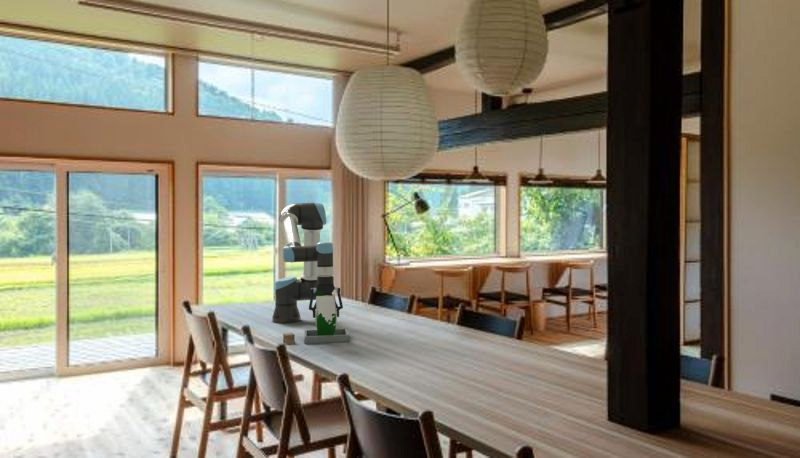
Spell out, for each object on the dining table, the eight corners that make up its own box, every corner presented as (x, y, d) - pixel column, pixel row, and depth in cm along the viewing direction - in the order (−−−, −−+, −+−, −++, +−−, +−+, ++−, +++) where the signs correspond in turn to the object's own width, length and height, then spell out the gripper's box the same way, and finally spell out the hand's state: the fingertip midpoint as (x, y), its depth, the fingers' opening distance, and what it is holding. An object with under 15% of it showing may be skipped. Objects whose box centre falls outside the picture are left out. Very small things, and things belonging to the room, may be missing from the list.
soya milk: (318, 331, 288) (317, 289, 287) (337, 331, 287) (336, 289, 287) (315, 335, 279) (314, 292, 278) (335, 335, 279) (334, 292, 278)
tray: (304, 336, 290) (304, 330, 290) (346, 334, 293) (346, 328, 293) (304, 343, 274) (304, 337, 274) (349, 341, 277) (349, 335, 277)
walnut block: (283, 342, 278) (283, 333, 277) (291, 341, 280) (291, 332, 279) (286, 344, 274) (286, 335, 274) (294, 343, 276) (294, 334, 276)
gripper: (302, 277, 277) (303, 326, 278) (348, 275, 280) (349, 325, 281) (302, 275, 284) (303, 323, 285) (347, 274, 288) (348, 322, 288)
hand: (326, 324), depth 283 cm, fingers closed on soya milk, 8 cm apart
